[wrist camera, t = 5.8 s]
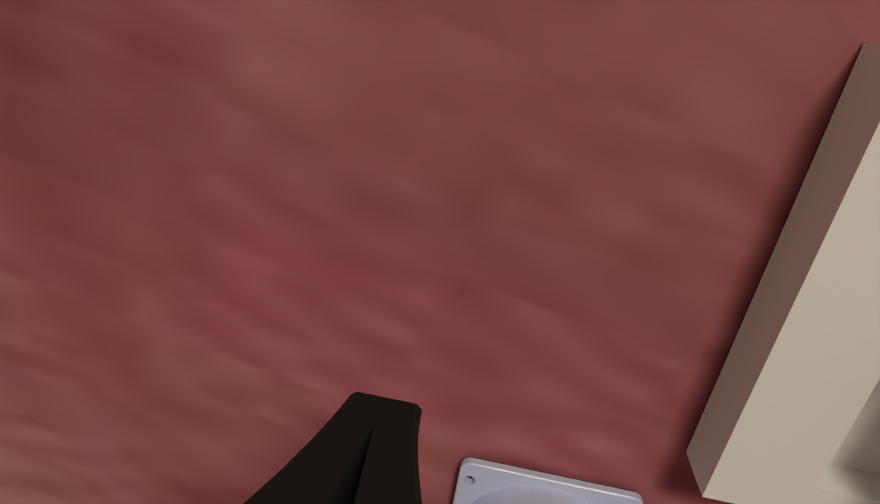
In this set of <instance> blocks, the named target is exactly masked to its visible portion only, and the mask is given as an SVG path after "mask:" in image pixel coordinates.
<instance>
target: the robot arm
mask: <svg viewBox="0 0 880 504" xmlns="http://www.w3.org/2000/svg"><path fill="white" fill-rule="evenodd" d="M421 413H422V410H421V408H420V407H419V406H418V405H417V404H414V403H410V402H405V401H400V400H395V399H390V398H385V397H380V396H375V395H370V394H365V393H360V392H355V393H353V394H352V395H350V396H349V398H348V399H347V400H346V401H345V403H344V404H343V405H342V406H341V407H340V409H339V410H338V411H337V412H336V413H335V414H334V416H333V417H332V418H331V419H330V420H329V421H328V422H327V424H326V425H325V426H324V427H323V428H322V429H321V430H320V431H319V432H318V433H317V434H316V435H315V436H314V438H313V439H312V440H311V441H310V442H309V443H308V444H307V445H306V446H305V447H304V448H303V449H302V450H301V451H300V452H299V453H298V454H297V455H296V456H295V457H294V458H293V459H292V460H291V461H290V462H289V463H288V464H287V465H286V466H285V467H284V468H283V469H281V470H280V471H279V472H278V473H277V474H276V475H275V476H274V477H273V478H272V479H271V480H269V481H268V482H267V483H266V484H265V485H264V486H263V487H262V488H261V489H259V490H258V491H257V492H256V493H255V494H254V495H253V496H252V497H251V498H249V499H248V500H247V501H246V502H245V503H244V504H422V501H421V491H420V481H419V468H418V432H419V426H420V419H421ZM466 476H471V477H473V478H468V477H466ZM453 504H643V501H642V498H641V496H640V495H639V494H638V493H635V492H631V491H627V490H622V489H617V488H613V487H608V486H603V485H598V484H594V483H589V482H584V481H579V480H575V479H570V478H565V477H561V476H556V475H551V474H546V473H542V472H537V471H532V470H527V469H523V468H518V467H513V466H509V465H504V464H499V463H494V462H490V461H485V460H480V459H476V458H466V459H464V460H463V461H462V462H461V465H460V470H459V475H458V480H457V485H456V490H455V495H454V499H453Z"/></svg>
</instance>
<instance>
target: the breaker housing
mask: <svg viewBox="0 0 880 504" xmlns="http://www.w3.org/2000/svg"><path fill="white" fill-rule="evenodd" d="M686 453H687V456H688V459H689V462H690V465H691V467H692V470H693V473H694V476H695V479H696V481H697V484H698V487H699V490H700V492H701V495H702V497H705V498H710V499H715V500H719V501H724V502H729V503H734V504H880V44H873V43H863V46H862V48H861V50H860V53H859V55H858V57H857V60H856V62H855V64H854V66H853V69H852V71H851V73H850V76H849V78H848V80H847V83H846V85H845V87H844V89H843V92H842V94H841V96H840V99H839V101H838V103H837V106H836V108H835V110H834V112H833V115H832V117H831V119H830V122H829V124H828V126H827V129H826V131H825V133H824V135H823V138H822V140H821V142H820V145H819V147H818V149H817V152H816V154H815V156H814V158H813V161H812V163H811V165H810V168H809V170H808V172H807V175H806V177H805V179H804V181H803V184H802V186H801V188H800V191H799V193H798V195H797V198H796V200H795V202H794V204H793V207H792V209H791V211H790V214H789V216H788V218H787V221H786V223H785V225H784V227H783V230H782V232H781V234H780V237H779V239H778V241H777V244H776V246H775V248H774V250H773V253H772V255H771V257H770V260H769V262H768V264H767V267H766V269H765V271H764V273H763V276H762V278H761V280H760V283H759V285H758V287H757V290H756V292H755V294H754V296H753V299H752V301H751V303H750V306H749V308H748V310H747V313H746V315H745V317H744V319H743V322H742V324H741V326H740V329H739V331H738V333H737V336H736V338H735V340H734V342H733V345H732V347H731V349H730V352H729V354H728V356H727V359H726V361H725V363H724V365H723V368H722V370H721V372H720V375H719V377H718V379H717V382H716V384H715V386H714V388H713V391H712V393H711V395H710V398H709V400H708V402H707V405H706V407H705V409H704V411H703V414H702V416H701V418H700V421H699V423H698V425H697V428H696V430H695V432H694V434H693V437H692V439H691V441H690V444H689V446H688V448H687V451H686Z"/></svg>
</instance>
